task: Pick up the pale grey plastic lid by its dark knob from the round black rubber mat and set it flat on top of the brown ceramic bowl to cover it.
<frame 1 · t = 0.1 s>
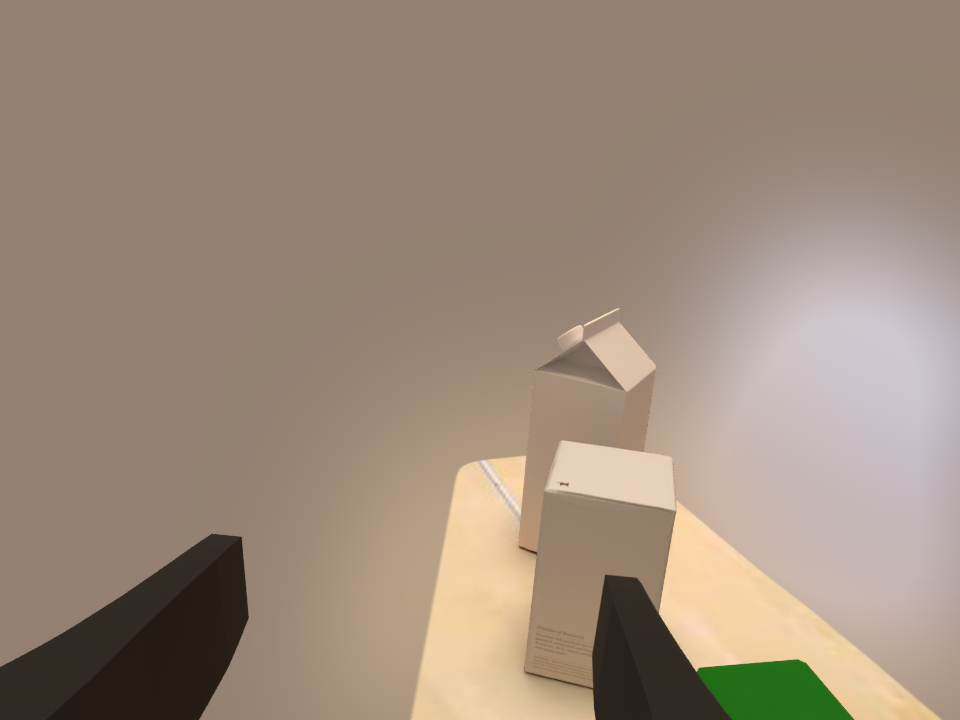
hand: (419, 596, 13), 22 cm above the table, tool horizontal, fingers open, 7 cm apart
supplement box: (588, 648, 43), on the table
milk carton: (575, 544, 54), on the table
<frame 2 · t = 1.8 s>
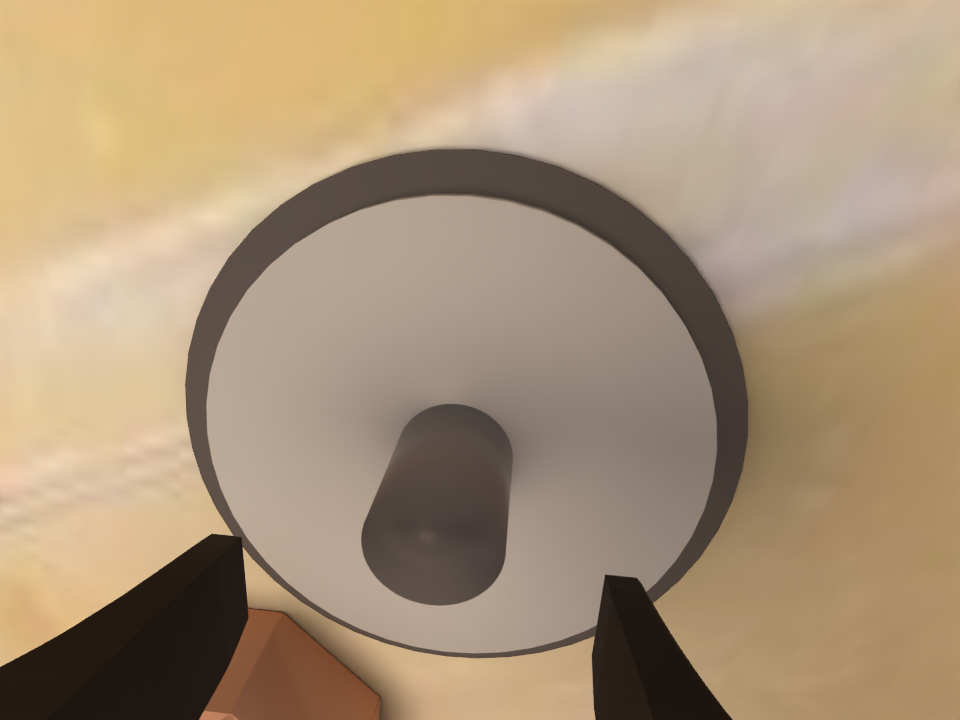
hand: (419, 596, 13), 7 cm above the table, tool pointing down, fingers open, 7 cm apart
lid: (457, 442, 19), resting on mat
mat: (459, 436, 19), on the table
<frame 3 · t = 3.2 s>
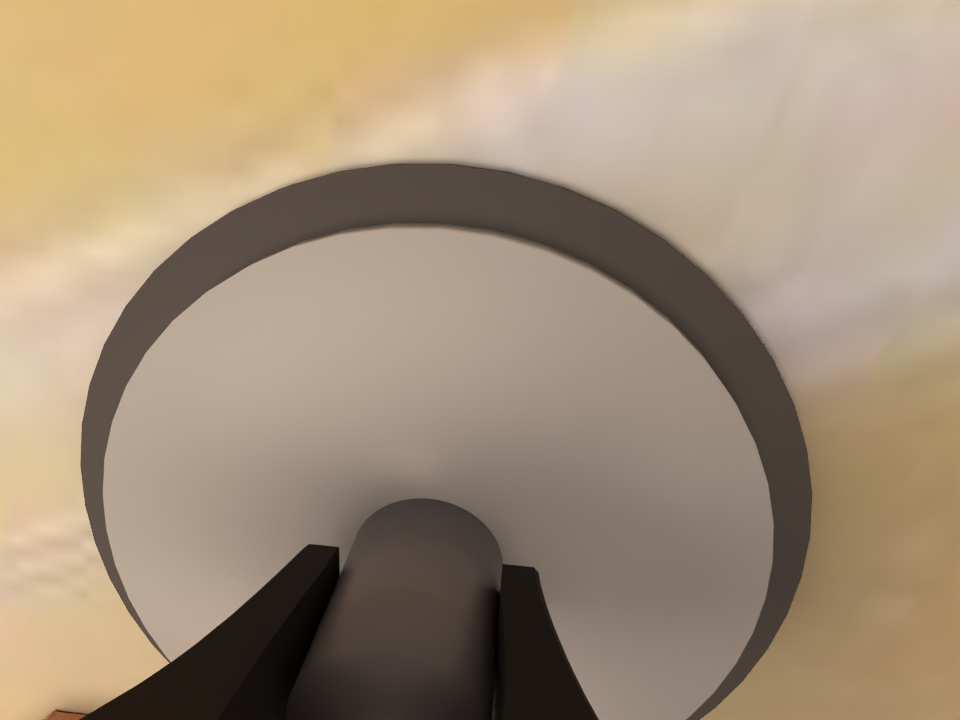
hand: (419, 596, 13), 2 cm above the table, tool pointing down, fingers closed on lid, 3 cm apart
lid: (432, 539, 15), resting on mat, touching gripper
mat: (435, 528, 15), on the table
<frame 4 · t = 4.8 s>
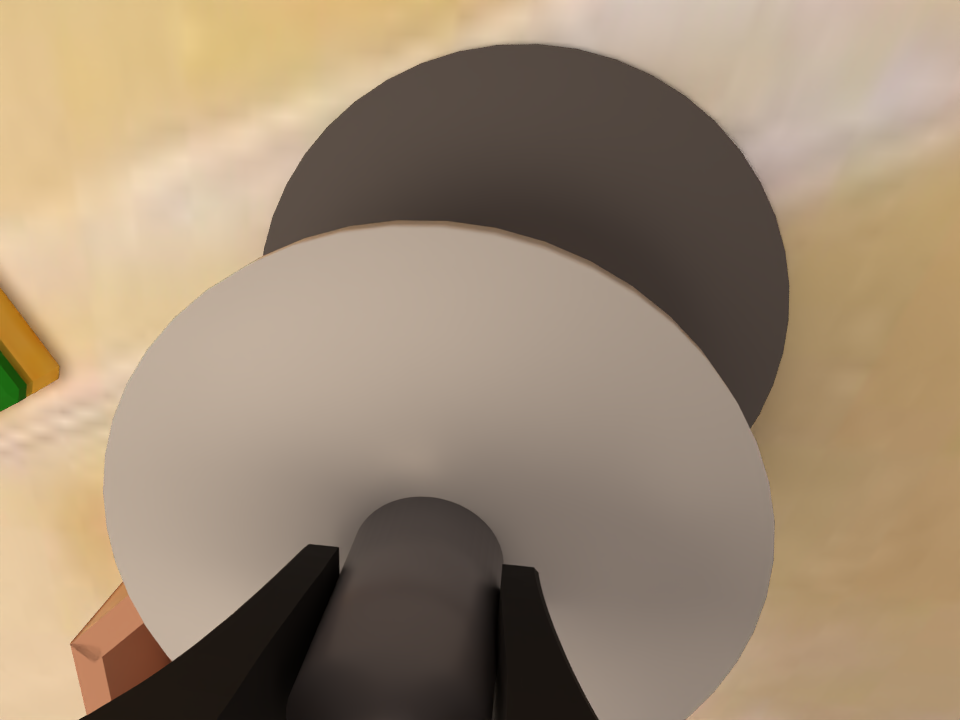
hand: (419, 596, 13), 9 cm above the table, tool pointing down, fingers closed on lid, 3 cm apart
lid: (433, 538, 15), point 8 cm above the table, touching gripper
mat: (516, 328, 21), on the table
bowl: (287, 627, 26), on the table
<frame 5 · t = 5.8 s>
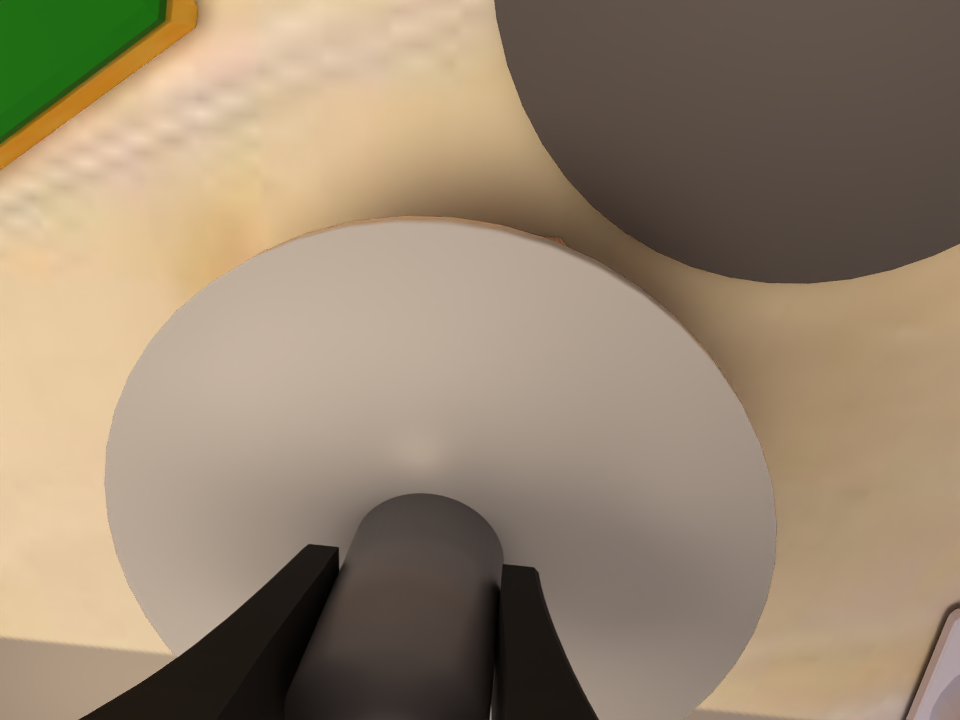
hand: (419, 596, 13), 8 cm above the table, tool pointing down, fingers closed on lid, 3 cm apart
lid: (433, 534, 15), point 6 cm above the table, touching gripper
when the fingers open (7 cm above the table, at t = 6.7 s): lid drops 1 cm, resting on bowl.
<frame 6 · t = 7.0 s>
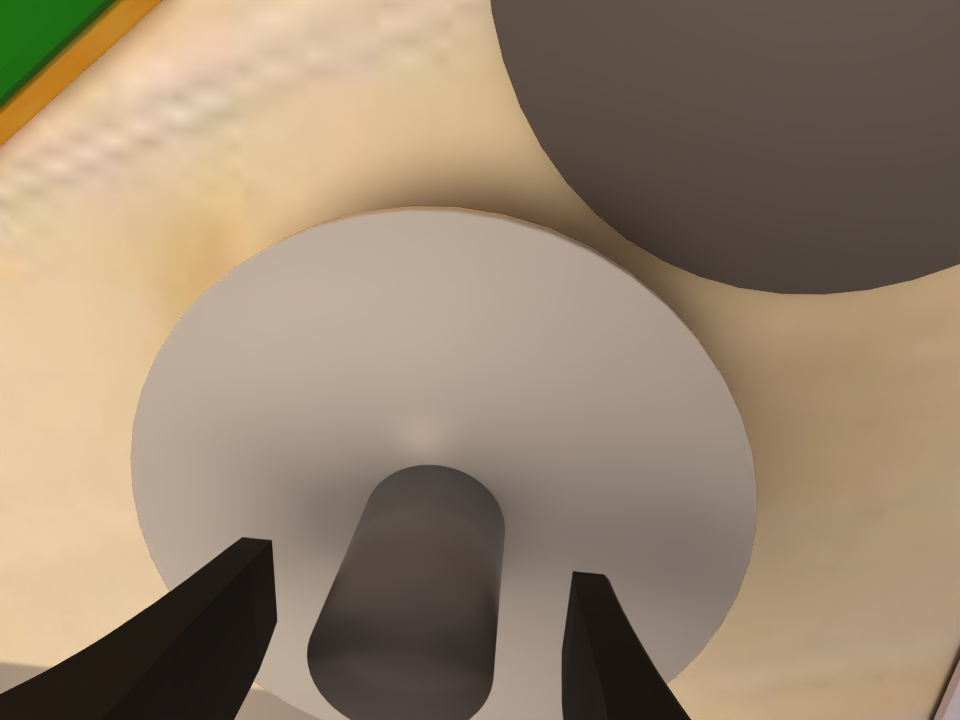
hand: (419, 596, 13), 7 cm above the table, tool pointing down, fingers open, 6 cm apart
lid: (438, 506, 16), point 4 cm above the table, touching bowl
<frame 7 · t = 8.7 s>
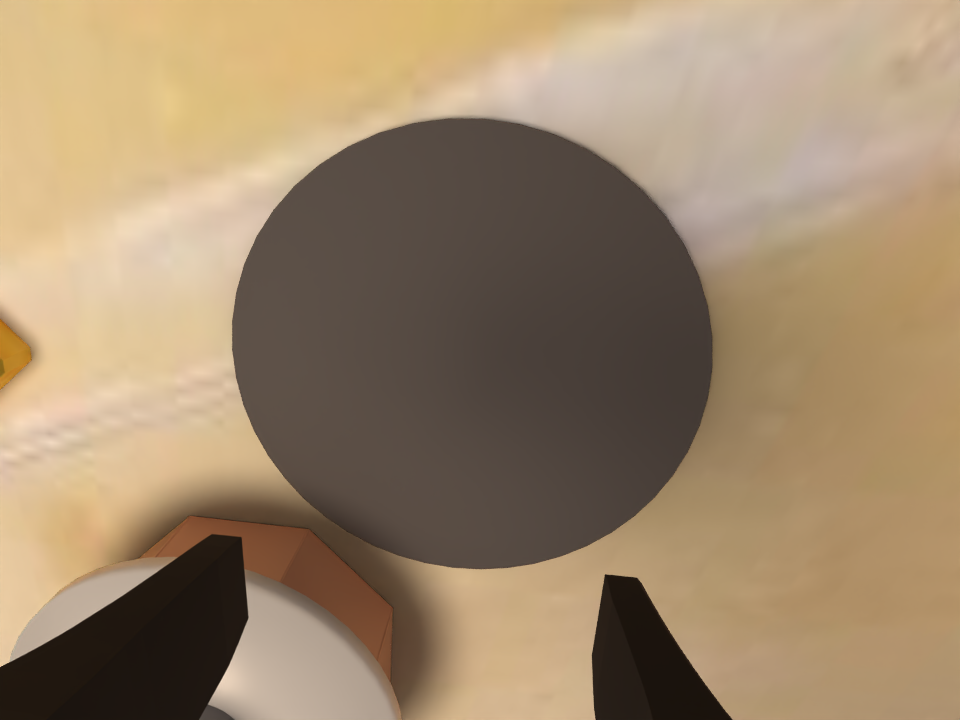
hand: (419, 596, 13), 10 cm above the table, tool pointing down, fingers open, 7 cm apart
lid: (212, 716, 24), point 4 cm above the table, touching bowl
mat: (467, 368, 23), on the table
bowl: (256, 636, 28), on the table
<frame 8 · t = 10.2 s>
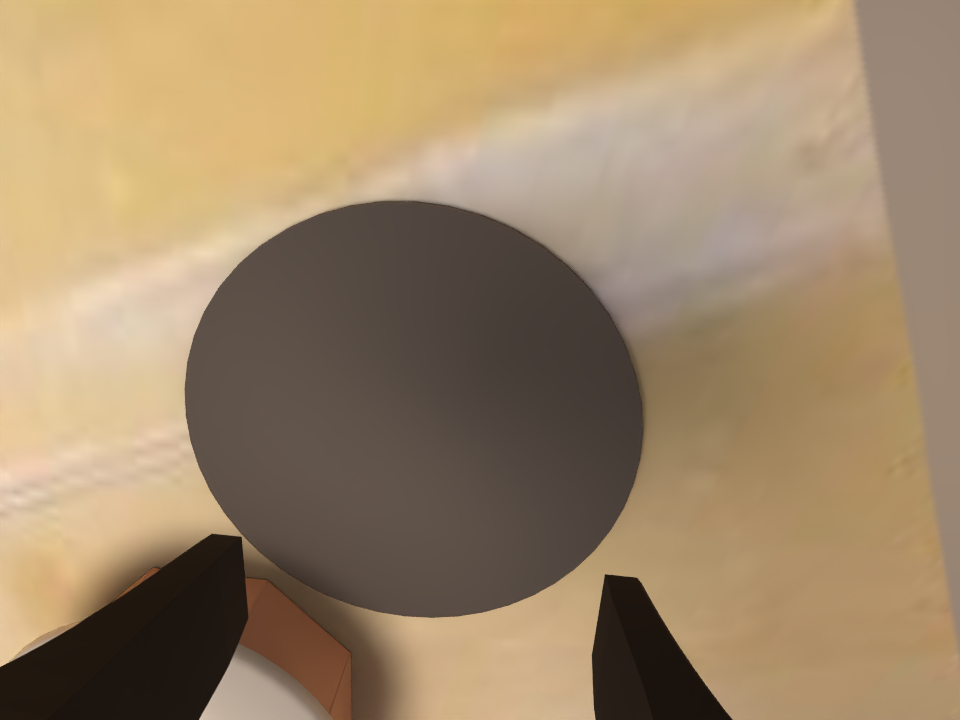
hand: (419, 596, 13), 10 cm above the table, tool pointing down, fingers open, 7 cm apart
mat: (410, 430, 24), on the table
bowl: (221, 680, 29), on the table
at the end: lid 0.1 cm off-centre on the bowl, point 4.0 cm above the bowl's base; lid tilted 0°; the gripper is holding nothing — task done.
